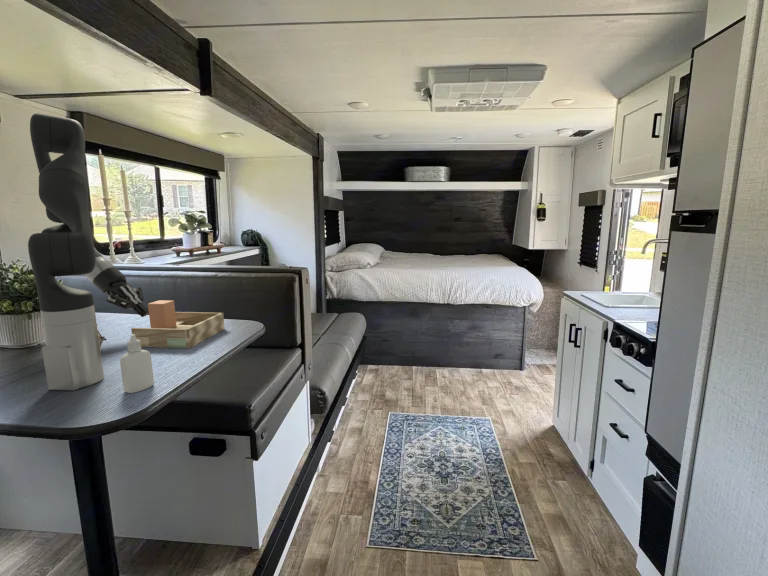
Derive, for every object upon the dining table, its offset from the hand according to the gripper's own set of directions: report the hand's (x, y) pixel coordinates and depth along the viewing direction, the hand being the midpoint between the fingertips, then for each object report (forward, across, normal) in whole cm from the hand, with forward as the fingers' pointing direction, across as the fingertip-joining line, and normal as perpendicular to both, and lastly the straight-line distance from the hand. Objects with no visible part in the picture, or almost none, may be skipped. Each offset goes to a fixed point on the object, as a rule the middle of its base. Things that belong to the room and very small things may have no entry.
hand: (146, 314), depth 123 cm
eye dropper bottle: (+22, -36, -12) cm, 44 cm away
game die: (+2, -17, +9) cm, 19 cm away
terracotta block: (+7, 0, -1) cm, 7 cm away
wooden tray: (+13, 0, -3) cm, 13 cm away
